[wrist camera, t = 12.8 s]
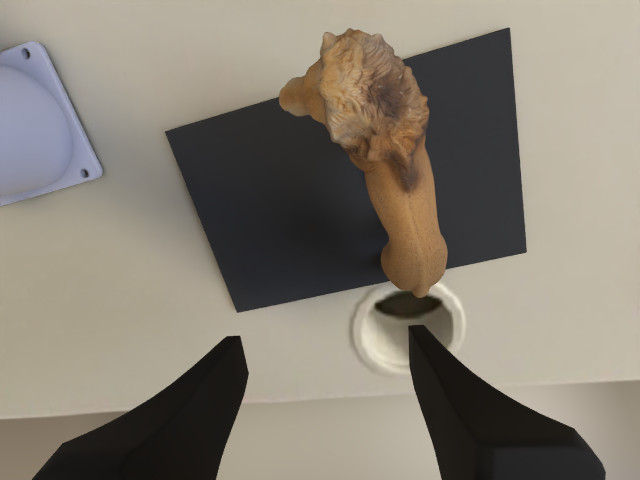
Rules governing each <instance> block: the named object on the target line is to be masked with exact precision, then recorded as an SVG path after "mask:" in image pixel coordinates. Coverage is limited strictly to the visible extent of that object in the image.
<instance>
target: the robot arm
mask: <svg viewBox="0 0 640 480" xmlns="http://www.w3.org/2000/svg"><path fill="white" fill-rule="evenodd" d="M27 51H29V52H30V57H28V56H27ZM85 170H87V171H88V174H89V175H88V176H87V175H86V174H85ZM102 175H103V171H102V168H101V166H100V163H99V161H98V159H97V157H96V155H95V153H94V151H93V149H92V147H91V145H90V142H89V140H88V138H87V136H86V134H85V132H84V130H83V128H82V126H81V123H80V121H79V119H78V117H77V115H76V113H75V111H74V109H73V107H72V104H71V102H70V100H69V98H68V96H67V94H66V92H65V90H64V88H63V85H62V83H61V81H60V79H59V77H58V75H57V73H56V71H55V69H54V66H53V64H52V62H51V60H50V58H49V56H48V54H47V52H46V50H45V48H44V46H43V45H41V44H40V43H38V42H34V41H29V42H26V43H23V44H20V45H18V46H15V47H12V48H10V49H7V50H4V51H1V52H0V207H1V206H4V205H8V204H11V203H15V202H18V201H22V200H25V199H29V198H32V197H35V196H39V195H42V194H46V193H49V192H53V191H56V190H60V189H63V188H67V187H70V186H73V185H77V184H80V183H84V182H87V181H91V180H94V179H98V178H100V177H101V176H102ZM408 329H409V364H410V371H411V375H412V380H413V385H414V389H415V392H416V395H417V398H418V401H419V404H420V407H421V410H422V413H423V416H424V419H425V422H426V425H427V428H428V431H429V433H430V437H431V439H432V443H433V446H434V450H435V453H436V457H437V462H438V465H439V470H440V474H441V478H442V480H605V474H606V472H605V469H604V467H603V464H602V463H601V461H600V460H599V458H598V457H597V456H596V455H595V453H594V452H593V450H592V449H591V448H590V447H589V445H588V444H587V443H586V442H585V441H584V439H583V438H582V437H581V436H580V435H579V434H578V433H577V431H576V430H575V429H574V428H572V427H569V426H567V425H565V424H563V423H560V422H558V421H556V420H553V419H551V418H549V417H546V416H544V415H542V414H540V413H538V412H536V411H534V410H532V409H530V408H528V407H526V406H524V405H522V404H520V403H519V402H517V401H515V400H513V399H512V398H510V397H508V396H507V395H505V394H503V393H502V392H500V391H498V390H497V389H495V388H494V387H492V386H491V385H489V384H488V383H486V382H485V381H484V380H482V379H481V378H480V377H478V376H477V375H475V374H474V373H473V372H472V371H470V370H469V369H468V368H467V367H466V366H464V365H463V364H462V363H461V362H460V361H459V360H458V359H457V358H455V357H454V356H453V355H452V354H451V353H450V352H449V351H448V350H447V349H446V348H445V347H444V346H443V345H442V344H441V343H440V342H439V341H438V340H437V339H436V338H435V336H434V335H433V334H432V333H431V332H430V331H429V330H428V329H427V328H426V327H425V326H424V325H412V326H408ZM248 375H249V373H248V368H247V364H246V359H245V355H244V350H243V346H242V342H241V337H240V336H227V337H225V338H224V339H223V340H222V341H221V342H220V343H218V344H217V345H216V346H215V347H214V348H213V349H212V350H211V351H210V352H208V353H207V354H206V355H205V356H204V357H203V358H202V359H201V360H200V361H198V362H197V363H196V364H195V365H194V366H193V367H192V368H190V369H189V370H188V371H187V372H185V373H184V374H183V375H182V376H181V377H179V378H178V379H177V380H176V381H174V382H173V383H172V384H171V385H169V386H168V387H166V388H165V389H164V390H162V391H161V392H159V393H158V394H156V395H155V396H154V397H152V398H151V399H149V400H147V401H146V402H144V403H142V404H141V405H139V406H137V407H136V408H134V409H133V410H131V411H129V412H128V413H126V414H124V415H122V416H120V417H119V418H117V419H115V420H113V421H111V422H109V423H107V424H105V425H103V426H101V427H99V428H97V429H95V430H93V431H90V432H88V433H86V434H84V435H81V436H79V437H77V438H74V439H72V440H70V441H68V442H65V443H63V444H62V445H61V446H60V447H59V448H58V449H57V451H56V452H55V453H54V454H53V455H52V456H51V458H50V459H49V460H48V461H47V462H46V463H45V465H44V466H43V467H42V468H41V469H40V470H39V472H38V473H37V474H36V475H35V476H34V478H33V479H32V480H216V476H217V473H218V469H219V465H220V461H221V458H222V455H223V451H224V448H225V445H226V443H227V440H228V437H229V435H230V432H231V429H232V427H233V424H234V421H235V419H236V416H237V413H238V411H239V407H240V405H241V402H242V399H243V397H244V393H245V389H246V384H247V380H248Z"/></svg>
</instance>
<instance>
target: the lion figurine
mask: <svg viewBox="0 0 640 480" xmlns="http://www.w3.org/2000/svg"><path fill="white" fill-rule="evenodd" d="M320 55H321V57H320V59H319V60H318V61H317V62H316V63H314V64H313V65H312V66H311V67H309V69H308V70H307V72H306V75H305V76H303V77H296V78H293V79H291V80H290V81H289V82H288V83H287V84H286V85H285V87H284V88H282V90H281V91H280V95H279V104H280V106H281V107H282V108H283V109H284V110H285V111H289V112H290V113H291V114H293V115H295V116H306V115H311V117H312V118H313V119H314V120H316V121H318V122H321V123H323V124H324V125H325V126H326V128H327V129H328V131H329V133H330V137H331V140H332V142H334V143H339V144H340V145H341V147H342V148H343V150H344V151H345V152H346V153H347V154H349V157H350V159H351V161H352V162H353V163H354V164H355V165H356V166H357V167H358V168H359V169H361V170H362V171H364V173H365V181H366V186H367V190H368V193H369V197H370V200H371V202H372V204H373V206H374V208H375V210H376V212H377V214H378V217H379V219H380V221H381V223H382V225H383V226H384V228H385V230H386V231H387V233H388V235H389V242H388V243H387V245H386V246H385V247H384V248H383V250H382V254H381V265H382V268H383V271H384V273H385V274H386V276H387V278H388V279H389V280H390V281H391V282H392V283H393V284H394V285H395V286H396V287H397V288H399V289H401V290H412V292H413V294H414V295H415V296H416V297H418V298H421V297H424V296H425V295H426V294H427V293H428V292H429V289H430V287H431V286H432V285H434V284H436V283H437V282H438V281H439V280H440V279H441V277H442V276H443V274H444V272H445V268H446V263H447V253H448V251H447V246H446V243H445V240H444V238H443V237H442V235H441V233H440V230H439V225H438V218H437V209H436V198H435V186H434V178H433V173H432V169H431V164H430V160H429V157H428V154H427V151H426V149H425V146H424V145H425V138H426V137H425V133H426V128H427V125H428V118H429V109H428V107H427V100H428V98H427V97H426V96H425V95H423V94H422V93H421V91H420V89H419V87H418V85H417V82H416V79H415V77H414V76H413V75H412V70H411V68H410V67H408V66H405V65H404V62H403V61H402V60H401V58H399V57H398V56H395V55H394V49H393V48H392V47H391V46H390V45H388V44H387V43H386V42H385V41H384V39H383V36H382V35H381V34H374V35H372V36H371V35H370V34H367V33H364V32H362V31H360V30H353V29H351V28H349V29H348V30H347V31H346V32H345V33H344V34H342V35H339V36H335V35H333V34H332V33H329V32H325V33H324V35H323V43H322V46H321V50H320Z"/></svg>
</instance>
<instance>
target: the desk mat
mask: <svg viewBox="0 0 640 480" xmlns="http://www.w3.org/2000/svg"><path fill="white" fill-rule="evenodd" d="M402 61H403V62H404V65H405V66H408V67H410V68H411V70H412V75H413V76H414V77H415V79H416V82H417V85H418V87H419V89H420V91H421V93H422V94H423V95H425V96H426V97H427V98H428V100H427V107H428V109H429V118H428V125H427V128H426V133H425V137H426V138H425V145H424V146H425V149H426V151H427V154H428V157H429V160H430V164H431V169H432V173H433V178H434V186H435V198H436V209H437V218H438V225H439V230H440V233H441V235H442V237H443V238H444V240H445V243H446V246H447V251H448V253H447V263H446V268H445V269H450V268H454V267H459V266H464V265H469V264H474V263H478V262H483V261H488V260H493V259H498V258H502V257H507V256H512V255H517V254H522V253H526V252H527V250H526V237H525V224H524V210H523V197H522V184H521V170H520V157H519V144H518V131H517V117H516V104H515V91H514V77H513V64H512V51H511V37H510V28H506V29H503V30H499V31H496V32H493V33H489V34H486V35H483V36H479V37H476V38H473V39H469V40H466V41H463V42H460V43H456V44H453V45H450V46H446V47H443V48H440V49H436V50H433V51H430V52H427V53H423V54H420V55H417V56H413V57H410V58H407V59H403V60H402ZM165 133H166V136H167V138H168V141H169V143H170V146H171V148H172V151H173V153H174V156H175V158H176V161H177V163H178V166H179V168H180V171H181V173H182V176H183V178H184V181H185V183H186V186H187V188H188V191H189V193H190V196H191V198H192V201H193V203H194V206H195V208H196V211H197V213H198V216H199V218H200V221H201V223H202V226H203V228H204V231H205V233H206V236H207V238H208V241H209V243H210V246H211V248H212V251H213V253H214V256H215V258H216V261H217V263H218V266H219V268H220V271H221V273H222V276H223V278H224V281H225V283H226V286H227V288H228V291H229V293H230V296H231V298H232V301H233V303H234V306H235V308H236V311H237V313H239V312H244V311H248V310H253V309H258V308H263V307H268V306H272V305H277V304H282V303H287V302H292V301H296V300H301V299H306V298H311V297H316V296H320V295H325V294H330V293H335V292H339V291H344V290H349V289H354V288H359V287H363V286H368V285H373V284H378V283H383V282H387V281H390V280H389V279H388V278H387V276H386V274H385V273H384V271H383V268H382V265H381V254H382V250H383V248H384V247H385V246H386V245H387V243H388V242H389V235H388V233H387V231H386V230H385V228H384V226H383V225H382V223H381V221H380V219H379V217H378V214H377V212H376V210H375V208H374V206H373V204H372V202H371V200H370V197H369V193H368V190H367V186H366V181H365V173H364V171H362V170H361V169H359V168H358V167H357V166H356V165H355V164H354V163H353V162H352V161H351V159H350V157H349V154H347V153H346V152H345V151H344V150H343V148H342V147H341V145H340V144H339V143H334V142H332V140H331V137H330V133H329V131H328V129H327V128H326V126H325V125H324V124H323V123H321V122H318V121H316V120H314V119H313V118H312V117H311V115H306V116H295V115H293V114H291V113H290V112H289V111H285V110H284V109H283V108H282V107H281V106H280V104H279V97H278V98H274V99H271V100H268V101H265V102H261V103H258V104H255V105H251V106H248V107H245V108H241V109H238V110H235V111H231V112H228V113H225V114H222V115H218V116H215V117H212V118H208V119H205V120H202V121H198V122H195V123H192V124H189V125H185V126H182V127H179V128H175V129H172V130H169V131H166V132H165Z"/></svg>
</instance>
